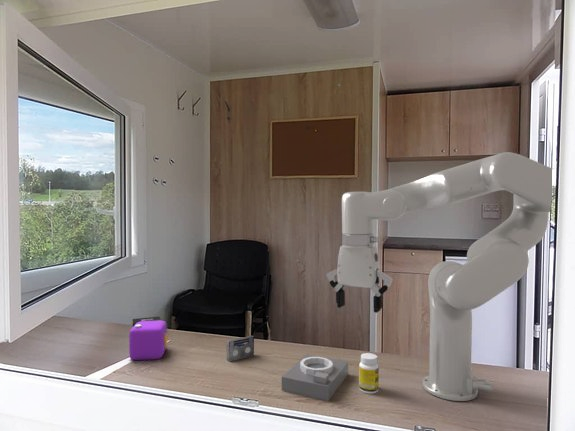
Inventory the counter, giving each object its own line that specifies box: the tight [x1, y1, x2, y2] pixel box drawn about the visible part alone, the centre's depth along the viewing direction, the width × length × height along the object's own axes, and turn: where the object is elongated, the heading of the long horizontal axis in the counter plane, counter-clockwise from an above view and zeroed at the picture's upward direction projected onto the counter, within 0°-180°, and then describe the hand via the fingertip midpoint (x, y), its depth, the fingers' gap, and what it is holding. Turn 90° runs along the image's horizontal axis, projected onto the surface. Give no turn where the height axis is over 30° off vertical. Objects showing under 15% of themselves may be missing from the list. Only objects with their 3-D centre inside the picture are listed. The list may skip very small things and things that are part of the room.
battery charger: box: [132, 316, 162, 328], centre depth 138 cm, size 13×10×4 cm
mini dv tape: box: [226, 335, 255, 362], centre depth 115 cm, size 8×2×6 cm, turn 123°
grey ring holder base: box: [281, 353, 349, 402], centre depth 99 cm, size 12×16×5 cm
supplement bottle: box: [358, 352, 380, 395], centre depth 96 cm, size 5×5×8 cm
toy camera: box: [128, 320, 169, 361], centre depth 118 cm, size 11×14×10 cm
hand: (358, 308), depth 98 cm, fingers open, 9 cm apart
